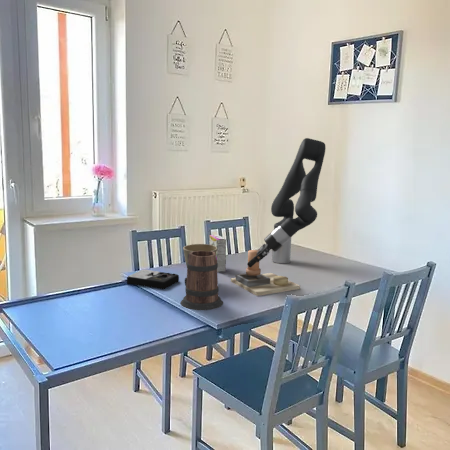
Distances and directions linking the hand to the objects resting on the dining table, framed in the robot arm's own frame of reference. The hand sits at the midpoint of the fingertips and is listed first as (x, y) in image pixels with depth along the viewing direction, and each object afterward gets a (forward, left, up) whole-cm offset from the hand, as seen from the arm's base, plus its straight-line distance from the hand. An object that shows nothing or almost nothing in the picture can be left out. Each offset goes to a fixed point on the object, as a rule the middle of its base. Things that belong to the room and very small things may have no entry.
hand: (249, 264), depth 204 cm
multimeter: (-22, -36, -10) cm, 44 cm away
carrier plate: (+3, +7, -10) cm, 12 cm away
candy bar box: (-29, 0, -10) cm, 31 cm away
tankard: (+8, -28, -10) cm, 31 cm away
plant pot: (-13, -17, -10) cm, 24 cm away
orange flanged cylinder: (+1, +2, -4) cm, 5 cm away
